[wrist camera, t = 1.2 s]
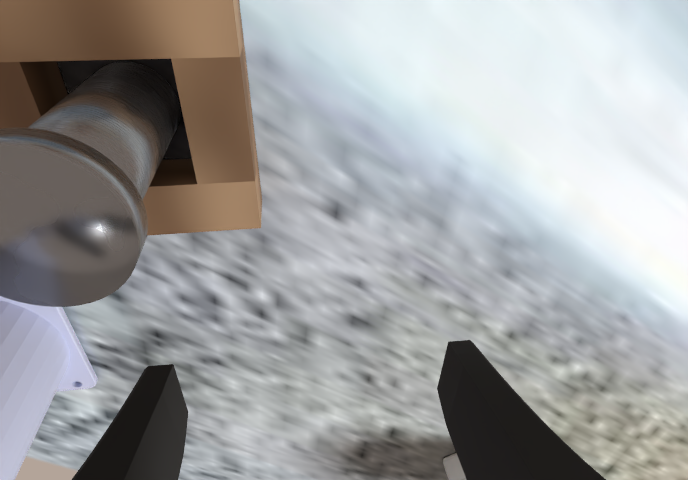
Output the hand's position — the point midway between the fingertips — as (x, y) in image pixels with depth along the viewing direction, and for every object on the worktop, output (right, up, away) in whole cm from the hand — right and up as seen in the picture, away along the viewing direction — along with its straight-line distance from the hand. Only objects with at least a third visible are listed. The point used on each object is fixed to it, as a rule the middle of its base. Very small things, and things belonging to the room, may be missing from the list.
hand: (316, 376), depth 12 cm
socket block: (-8, +9, +6) cm, 13 cm away
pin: (-8, +9, +6) cm, 13 cm away
